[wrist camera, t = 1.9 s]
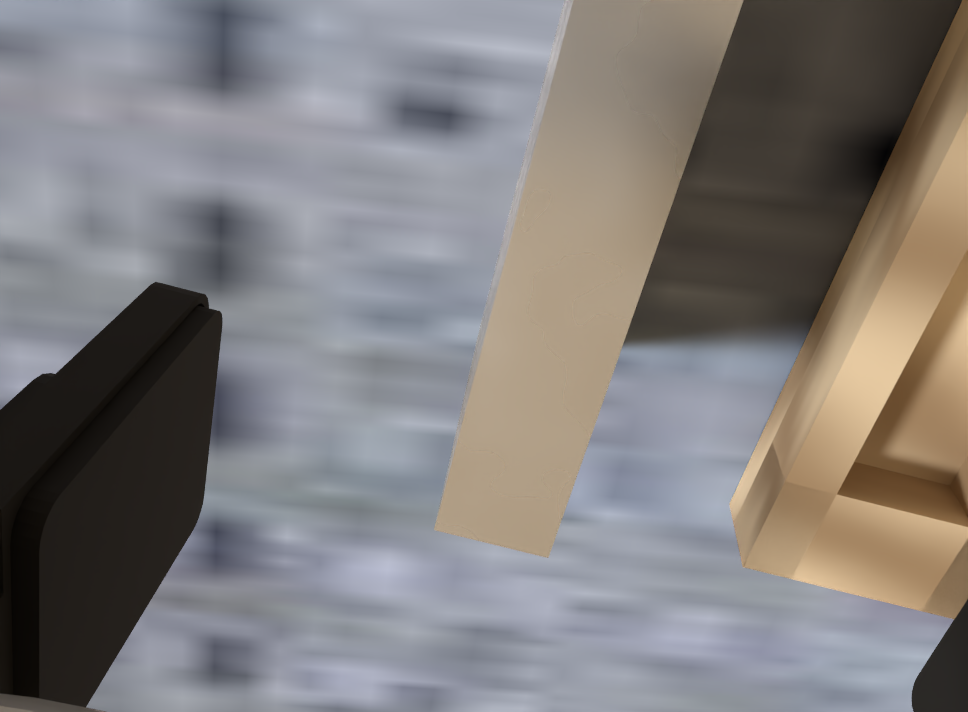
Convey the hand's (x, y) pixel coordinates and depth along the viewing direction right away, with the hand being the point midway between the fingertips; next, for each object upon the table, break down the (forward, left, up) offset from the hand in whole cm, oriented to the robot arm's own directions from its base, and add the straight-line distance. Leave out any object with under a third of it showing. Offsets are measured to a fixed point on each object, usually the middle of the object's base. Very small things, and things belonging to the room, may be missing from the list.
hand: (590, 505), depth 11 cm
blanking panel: (0, 0, -16) cm, 16 cm away
